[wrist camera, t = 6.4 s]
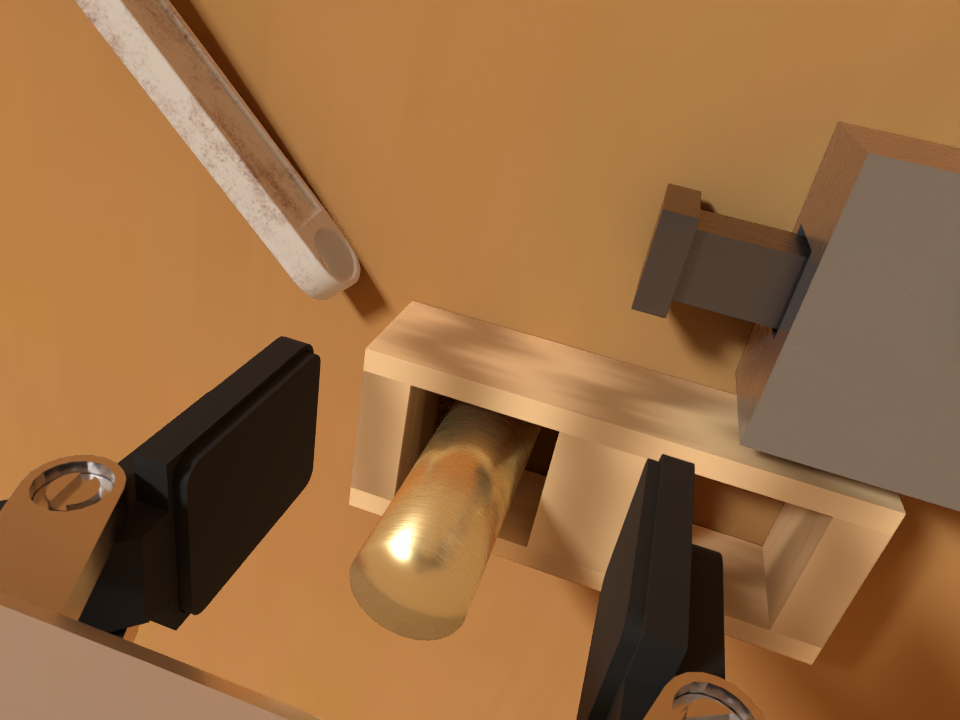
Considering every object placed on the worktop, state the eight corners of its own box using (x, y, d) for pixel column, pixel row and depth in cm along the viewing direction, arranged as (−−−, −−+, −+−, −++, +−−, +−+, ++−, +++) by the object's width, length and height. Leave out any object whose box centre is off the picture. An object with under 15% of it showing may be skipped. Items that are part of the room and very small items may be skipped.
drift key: (958, 255, 24) (993, 292, 21) (908, 346, 26) (934, 393, 23) (668, 183, 26) (662, 208, 23) (640, 274, 28) (631, 308, 25)
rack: (877, 436, 29) (905, 513, 24) (798, 576, 32) (811, 665, 28) (412, 300, 32) (365, 348, 28) (392, 443, 36) (349, 504, 31)
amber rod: (553, 383, 32) (477, 569, 21) (534, 454, 34) (456, 656, 23) (468, 357, 32) (354, 527, 22) (455, 429, 34) (344, 614, 24)
